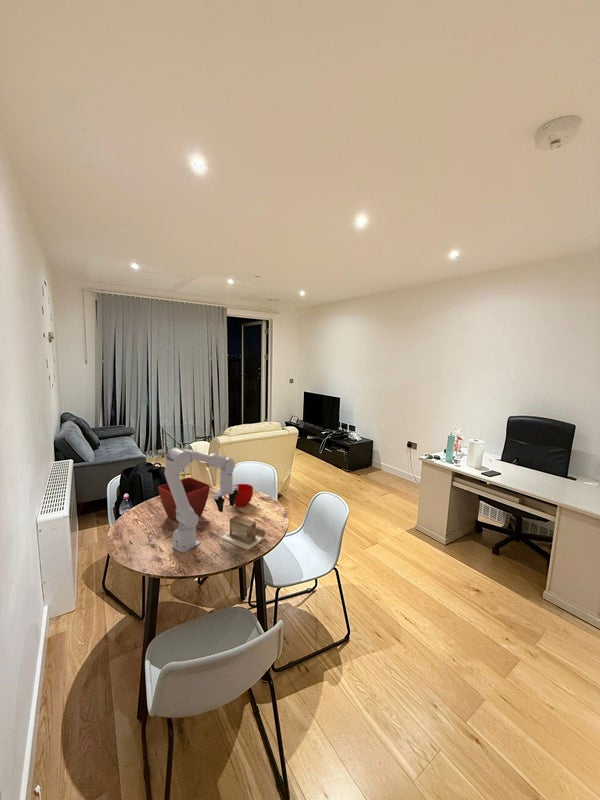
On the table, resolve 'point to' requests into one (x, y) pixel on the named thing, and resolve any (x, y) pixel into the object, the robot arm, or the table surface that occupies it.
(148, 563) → the table surface
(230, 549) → the table surface
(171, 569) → the table surface
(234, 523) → the brown slab
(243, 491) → the ceramic cup
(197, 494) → the plant pot
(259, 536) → the tan rimmed flat piece
